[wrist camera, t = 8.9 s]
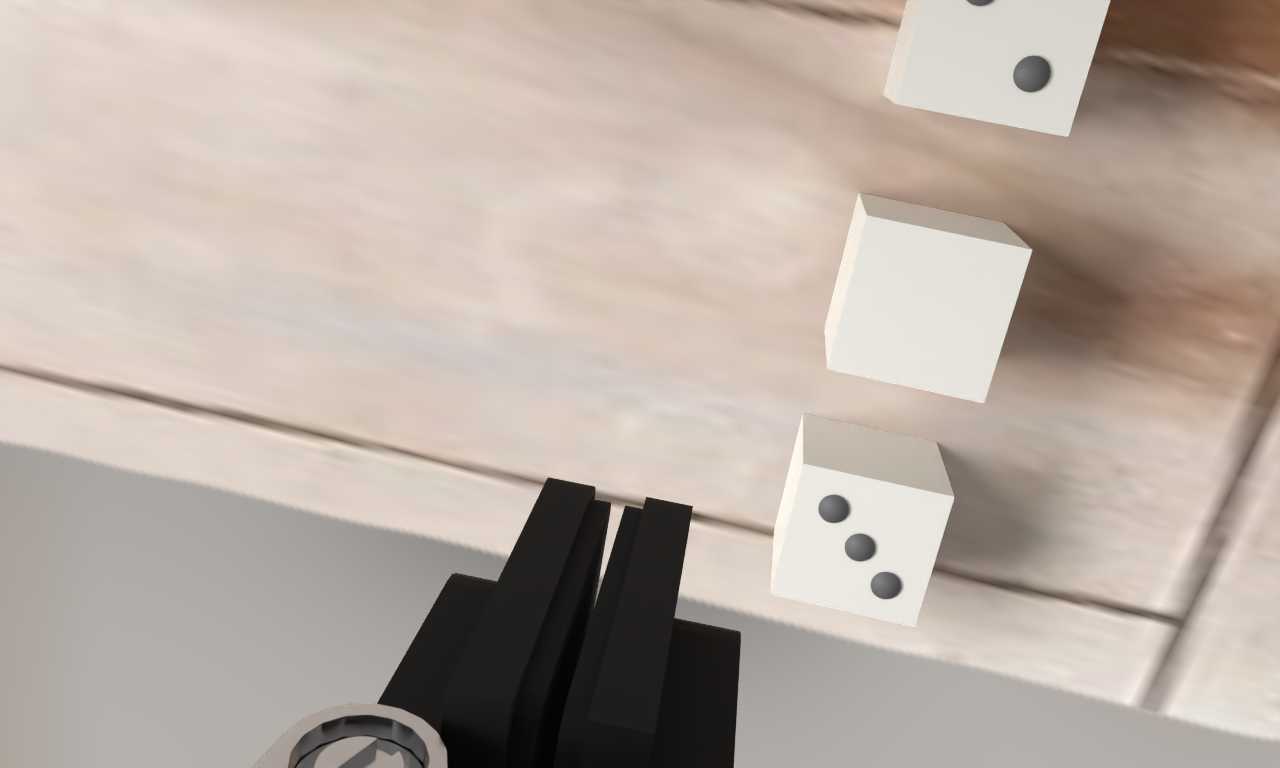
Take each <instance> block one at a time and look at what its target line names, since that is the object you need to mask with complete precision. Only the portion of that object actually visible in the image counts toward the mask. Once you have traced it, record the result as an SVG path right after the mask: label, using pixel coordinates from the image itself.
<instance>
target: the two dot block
mask: <svg viewBox="0 0 1280 768" xmlns="http://www.w3.org/2000/svg"><path fill="white" fill-rule="evenodd" d="M1109 4H1110V0H907V2H906V6H905V10H904V14H903V18H902V22H901V26H900V30H899V34H898V38H897V42H896V46H895V50H894V54H893V58H892V62H891V66H890V70H889V75H888V79H887V83H886V87H885V91H884V96H885V97H886V98H888V99H889V100H891V101H892V102H894V103H895V104H898V105H903V106H908V107H914V108H919V109H924V110H929V111H934V112H940V113H945V114H950V115H955V116H960V117H966V118H971V119H976V120H981V121H987V122H992V123H997V124H1002V125H1007V126H1013V127H1018V128H1023V129H1028V130H1033V131H1039V132H1044V133H1049V134H1054V135H1059V136H1065V137H1068V136H1069V133H1070V130H1071V126H1072V123H1073V120H1074V117H1075V114H1076V110H1077V107H1078V104H1079V101H1080V97H1081V94H1082V91H1083V88H1084V84H1085V81H1086V78H1087V75H1088V72H1089V68H1090V65H1091V62H1092V59H1093V55H1094V52H1095V49H1096V46H1097V42H1098V39H1099V36H1100V33H1101V30H1102V26H1103V23H1104V20H1105V17H1106V13H1107V10H1108V7H1109Z"/></svg>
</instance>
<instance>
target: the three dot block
mask: <svg viewBox="0 0 1280 768" xmlns="http://www.w3.org/2000/svg"><path fill="white" fill-rule="evenodd" d="M954 498H955V496H954V493H953V490H952V487H951V484H950V481H949V478H948V475H947V472H946V469H945V466H944V463H943V460H942V457H941V454H940V451H939V448H938V445H937V442H934V441H929V440H924V439H920V438H915V437H911V436H906V435H901V434H897V433H892V432H887V431H883V430H878V429H874V428H869V427H864V426H860V425H855V424H851V423H846V422H841V421H837V420H832V419H827V418H823V417H818V416H814V415H809V414H804V413H803V415H802V419H801V423H800V427H799V432H798V436H797V440H796V444H795V448H794V452H793V456H792V460H791V464H790V468H789V472H788V476H787V481H786V485H785V489H784V493H783V497H782V501H781V505H780V509H779V513H778V517H777V521H776V525H775V530H774V542H773V559H772V576H771V593H770V594H772V595H776V596H780V597H785V598H789V599H793V600H798V601H802V602H806V603H811V604H815V605H819V606H824V607H828V608H832V609H837V610H841V611H845V612H850V613H854V614H858V615H863V616H867V617H871V618H876V619H880V620H884V621H889V622H893V623H897V624H902V625H906V626H910V627H915V625H916V622H917V618H918V615H919V612H920V609H921V605H922V602H923V599H924V596H925V592H926V589H927V586H928V582H929V579H930V576H931V573H932V569H933V566H934V563H935V560H936V556H937V553H938V550H939V547H940V543H941V540H942V537H943V533H944V530H945V527H946V524H947V520H948V517H949V514H950V511H951V507H952V504H953V501H954Z"/></svg>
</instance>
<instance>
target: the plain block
mask: <svg viewBox="0 0 1280 768" xmlns="http://www.w3.org/2000/svg"><path fill="white" fill-rule="evenodd" d="M1031 253H1032V249H1031V248H1030V247H1029V246H1028V245H1027V244H1026V243H1025V242H1024V241H1023V240H1022V239H1020V238H1019V237H1018V236H1017V235H1016V234H1015V233H1014V232H1013V231H1012V230H1011V229H1010V228H1009V227H1008V226H1006V225H1005V224H1004V223H1003V222H999V221H994V220H989V219H984V218H979V217H975V216H970V215H965V214H960V213H955V212H950V211H945V210H941V209H936V208H931V207H926V206H921V205H916V204H911V203H906V202H902V201H897V200H892V199H887V198H882V197H877V196H872V195H868V194H863V193H859V194H858V198H857V202H856V206H855V210H854V214H853V218H852V222H851V226H850V230H849V234H848V238H847V242H846V245H845V249H844V253H843V257H842V261H841V265H840V269H839V273H838V277H837V281H836V285H835V289H834V293H833V297H832V301H831V305H830V309H829V313H828V317H827V321H826V325H825V328H824V329H825V344H826V359H827V369H829V370H834V371H838V372H843V373H847V374H852V375H856V376H861V377H866V378H870V379H875V380H879V381H884V382H888V383H893V384H897V385H902V386H907V387H911V388H916V389H920V390H925V391H929V392H934V393H938V394H943V395H947V396H952V397H957V398H961V399H966V400H970V401H975V402H979V403H984V402H985V399H986V396H987V393H988V389H989V386H990V383H991V380H992V377H993V373H994V370H995V367H996V364H997V361H998V358H999V354H1000V351H1001V348H1002V345H1003V342H1004V339H1005V335H1006V332H1007V329H1008V326H1009V323H1010V320H1011V316H1012V313H1013V310H1014V307H1015V304H1016V301H1017V297H1018V294H1019V291H1020V288H1021V285H1022V281H1023V278H1024V275H1025V272H1026V269H1027V266H1028V262H1029V259H1030V256H1031Z"/></svg>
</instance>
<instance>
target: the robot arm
mask: <svg viewBox="0 0 1280 768" xmlns="http://www.w3.org/2000/svg"><path fill="white" fill-rule="evenodd" d="M692 508H693V506H689V505H684V504H679V503H674V502H669V501H664V500H659V499H654V498H649V497H646V500H645V504H644V507H643V509H640V508H635V507H630V506H625V508H624V512H623V515H622V518H621V522H620V525H619V528H618V531H617V535H616V538H615V541H614V545H613V548H612V551H611V555H610V558H609V561H608V565H607V568H606V571H605V574H604V578H603V581H602V585H601V588H600V591H599V594H598V598H597V601H596V604H595V600H596V594H597V588H598V582H599V576H600V570H601V564H602V558H603V552H604V546H605V540H606V534H607V528H608V522H609V516H610V509H611V503H610V502H605V501H600V500H595V487H594V486H589V485H584V484H579V483H574V482H568V481H563V480H558V479H553V478H548V479H547V480H546V482H545V485H544V487H543V489H542V491H541V493H540V495H539V497H538V499H537V501H536V503H535V505H534V507H533V509H532V511H531V513H530V515H529V518H528V520H527V522H526V524H525V526H524V528H523V530H522V532H521V534H520V536H519V538H518V540H517V542H516V544H515V546H514V549H513V551H512V553H511V555H510V557H509V559H508V561H507V563H506V565H505V567H504V569H503V571H502V573H501V575H500V577H499V580H498V582H497V581H492V580H487V579H482V578H477V577H473V576H467V575H463V574H458V573H455V574H452V575H451V577H450V578H449V579H448V581H447V582H446V584H445V586H444V588H443V589H442V591H441V593H440V595H439V597H438V598H437V600H436V602H435V604H434V605H433V607H432V609H431V610H430V612H429V614H428V616H427V617H426V619H425V621H424V623H423V624H422V626H421V628H420V630H419V632H418V633H417V635H416V637H415V638H414V640H413V642H412V643H411V645H410V647H409V649H408V651H407V652H406V654H405V656H404V657H403V659H402V661H401V663H400V664H399V666H398V668H397V670H396V671H395V673H394V675H393V677H392V679H391V680H390V682H389V684H388V685H387V687H386V689H385V691H384V693H383V694H382V696H381V698H380V699H379V701H378V703H377V704H347V705H343V706H337V707H333V708H328V709H324V710H322V711H320V712H317V713H315V714H313V715H310V716H308V717H306V718H304V719H302V720H300V721H299V722H298V723H296V724H295V725H294V726H293V727H291V728H290V729H289V730H287V731H286V732H285V733H284V734H283V735H282V736H281V737H280V738H279V739H278V740H277V741H276V742H275V743H274V744H273V745H272V746H271V747H270V748H269V749H268V750H267V752H266V753H265V754H264V755H263V756H262V757H261V758H260V759H259V760H258V761H257V762H256V763H255V764H254V765H253V766H252V768H734V750H735V732H736V715H737V697H738V680H739V662H740V661H739V660H740V643H741V634H740V632H739V631H735V630H730V629H725V628H720V627H715V626H711V625H706V624H700V623H696V622H691V621H686V620H681V619H677V618H674V616H675V610H676V604H677V598H678V592H679V586H680V580H681V574H682V568H683V562H684V556H685V550H686V544H687V538H688V532H689V526H690V520H691V514H692ZM594 606H595V608H594Z"/></svg>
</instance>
